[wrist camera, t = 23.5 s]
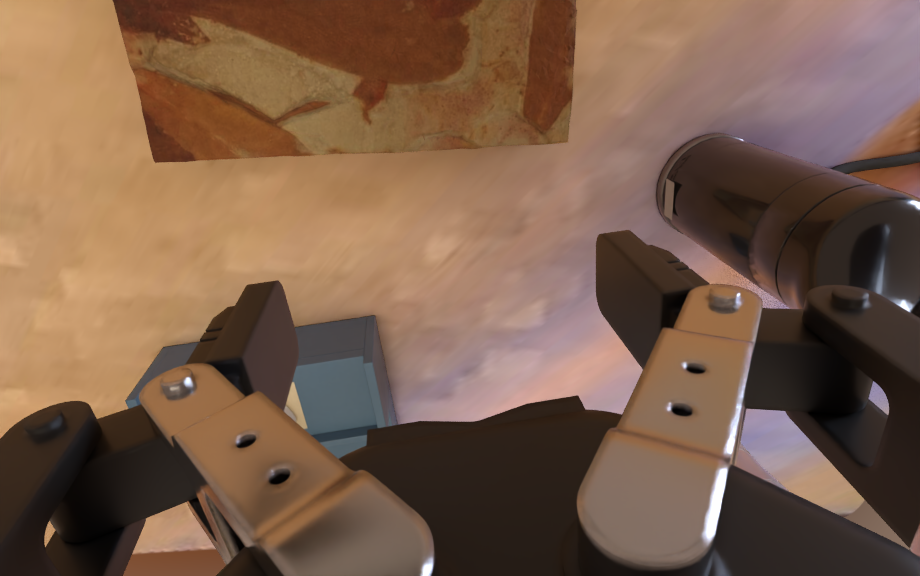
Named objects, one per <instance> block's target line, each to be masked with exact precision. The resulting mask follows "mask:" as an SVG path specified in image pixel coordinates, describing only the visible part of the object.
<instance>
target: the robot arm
mask: <svg viewBox="0 0 920 576" xmlns="http://www.w3.org/2000/svg"><path fill="white" fill-rule="evenodd" d="M918 162H920V152H915V153H910V154H905V155H899V156H892V157H885V158H877V159H869V160H862V161H856V162H851V163H846V164H843V165H839V166H837V167H834V168H832V169H829V168H826V167H823V166H820V165H816V164H813V163H810V162H807V161H804V160H801V159H798V158H795V157H792V156H788V155H785V154H782V153H779V152H776V151H773V150H770V149H767V148H764V147H760V146H758V145H755V144H752V143H748V142H745V141H743V140H742V139H740V138H737V137H734V136H731V135H727V134H720V133H716V134H708V135H704V136H701V137H698V138H696V139H693V140H692V141H690V142H688V143H687V144H685V145H684V146H682V147H681V148H680V149H679V150H678V151H677V152H676V153H675V154H674V155H673V156H672V157H671V158H670V160H669V161H668V163H667V164H666V166H665V167H664V169H663V171H662V174H661V176H660V179H659V183H658V188H657V203H658V207H659V210H660V213H661V215H662V217H663V218H664V220H665V221H666V222H667V223H668V224H669V225H670V226H671V227H673V228H674V229H676V230H677V231H679V232H680V233H682V234H685V235H686V236H688V237H689V238H690V239H692V240H693V241H694V242H696V243H697V244H699V245H700V246H701V247H703V248H704V249H706V250H707V251H709V252H710V253H711V254H713V255H714V256H716V257H717V258H719V259H720V260H721V261H723V262H724V263H726V264H727V265H728V266H730V267H731V268H733V269H734V270H736V271H737V272H738V273H740V274H741V275H743V276H744V277H746V278H747V279H748V280H750V281H751V282H753V283H754V284H755V285H757V286H758V287H760V288H761V289H763V290H764V291H765V292H767V293H769V294H770V295H772V296H773V297H774V298H776V299H777V300H779V301H780V302H781V303H783V304H784V305H786V306H787V307H789V308H790V309H770V308H762V306H763V302H762V299H761V298H760V297H759V296H758V295H757V294H755V293H754V292H752V291H750V290H747V289H745V288H742V287H738V286H733V285H725V284H709V283H708V282H707V281H705V280H704V279H703V278H702V277H700V276H699V275H698V274H697V273H695V272H694V271H693V270H692V269H689V267H688V266H687V265H685V264H684V263H683V262H680V260H679V259H678V258H677V257H675V256H674V255H673V254H672V253H670V252H669V251H667V250H664V249H661V248H658V247H656V246H653V245H646V244H645V243H644V242H643V241H642V240H640V239H639V238H638V237H637V236H636V235H635V234H633V233H632V232H631V231H630V230H624V231H617V232H610V233H604V234H599V235H598V237H597V241H596V296H597V302H598V306H599V309H600V311H601V313H602V315H603V316H604V317H605V319H606V320H607V321H608V323H609V324H610V325H611V327H612V328H613V329H614V331H615V332H616V334H617V335H618V336H619V338H620V339H621V340H622V342H623V343H624V344H625V346H626V347H627V348H628V350H629V351H630V352H631V354H632V355H633V357H634V358H635V359H636V361H637V362H638V363H639V365H640V366H641V367H642V369H643V371H642V374H641V376H640V378H639V380H638V382H637V384H636V387H635V389H634V391H633V393H632V395H631V397H630V399H629V402H628V404H627V406H626V408H625V410H624V412H623V414H622V415H621V414H617V413H611V412H606V411H598V410H585V408H584V406H583V404H582V402H581V400H580V398H579V396H572V397H566V398H560V399H553V400H547V401H541V402H535V403H529V404H525V405H522V406H520V407H517V408H514V409H511V410H508V411H505V412H503V413H500V414H497V415H494V416H491V417H488V418H486V419H483V420H480V421H475V422H441V421H418V422H412V423H406V424H400V425H394V426H388V427H381V428H375V429H369V430H367V444H366V446H364V447H361V448H359V449H357V450H354V451H352V452H350V453H348V454H346V455H344V456H342V457H341V458H339V459H338V458H337V457H335V456H334V455H333V454H332V453H331V452H330V451H329V450H327V449H326V448H325V447H324V446H323V445H322V444H321V443H319V442H318V441H317V440H316V439H315V438H314V437H313V436H311V435H310V434H309V433H308V432H307V431H306V430H304V429H303V428H302V427H301V426H300V425H299V424H298V423H296V422H295V421H294V420H293V419H292V418H291V417H290V416H288V415H287V414H286V413H285V412H284V409H285V406H286V402H287V398H288V395H289V391H290V388H291V384H292V380H293V377H294V373H295V370H296V366H297V363H298V358H299V346H298V339H297V335H296V331H295V328H294V324H293V321H292V317H291V314H290V310H289V307H288V303H287V300H286V296H285V292H284V289H283V287H282V285H281V283H280V282H279V281H271V282H264V283H257V284H250V285H247V286H246V287H245V289H244V291H243V293H242V295H241V296H240V298H239V300H238V302H237V304H236V305H235V306H232V307H227V308H226V309H225V310H224V311H222V312H221V313H220V314H218V315H217V316H216V317H215V318H213V320H212V321H211V323H210V325H209V326H208V328H207V329H206V333H204V334H203V336H202V338H201V339H200V342H199V343H198V344H197V346H196V347H195V349H194V351H193V352H192V354H191V356H190V357H189V359H188V361H187V362H186V364H185V365H183V366H179V367H176V368H173V369H171V370H168V371H166V372H164V373H162V374H160V375H159V376H157V377H155V378H154V379H152V380H151V381H150V382H149V383H147V384H146V385H145V387H144V388H143V389H142V390H141V392H140V395H139V400H140V402H141V404H140V405H138V406H135V407H132V408H130V409H127V410H123V411H120V412H117V413H114V414H111V415H108V416H105V417H102V418H99V419H96V417H95V415H94V413H93V411H92V409H91V407H90V406H89V404H87V403H85V402H82V401H70V402H64V403H59V404H56V405H52V406H49V407H47V408H44V409H42V410H39V411H37V412H35V413H33V414H31V415H29V416H27V417H26V418H24V419H22V420H21V421H19V422H18V423H17V424H15V425H14V426H13V427H12V428H10V429H9V430H8V431H7V432H6V433H5V434H4V435H3V437H2V438H1V439H0V576H123V574H124V571H125V569H126V566H127V564H128V562H129V560H130V557H131V555H132V553H133V550H134V548H135V546H136V543H137V541H138V539H139V536H140V534H141V531H142V529H143V527H144V524H145V521H146V518H147V517H150V516H152V515H155V514H157V513H160V512H162V511H165V510H167V509H170V508H172V507H175V506H177V505H180V504H182V503H185V502H187V504H188V506H189V508H190V510H191V511H192V513H193V514H194V516H195V518H196V519H197V521H198V522H199V524H200V525H201V527H202V528H203V530H204V531H205V533H206V534H207V536H208V537H209V539H210V540H211V542H212V543H213V545H214V546H215V548H216V549H217V551H218V552H219V554H220V555H221V557H222V558H223V560H224V562H225V563H226V566H225V567H224V568H223V569H222V570H221V571H220V572H219V573H218V574H217V575H216V576H920V198H918V197H915V196H913V195H910V194H908V193H905V192H902V191H899V190H896V189H892V188H889V187H886V186H883V185H880V184H877V183H873V182H870V181H867V180H864V179H861V178H858V177H855V176H851V175H848V174H849V173H853V172H858V171H865V170H872V169H880V168H888V167H896V166H902V165H908V164H913V163H918ZM873 381H874V382H876V383H877V384H878V385H879V386H880V387H881V388H882V389H883V391H884V392H885V394H886V396H887V399H888V403H889V415H887V414H885V413H884V412H883V411H882V410H881V409H880V408H878V407H877V406H876V405H875V404H874V403H873V402H871V401H870V400H869V399H868V397H869V394H870V390H871V387H872V383H873ZM746 409H763V410H780V411H786V413H787V415H788V416H789V418H790V419H791V420H792V421H793V422H794V423H795V424H796V425H797V426H798V427H799V429H800V430H801V431H802V432H803V433H804V434H805V435H806V436H807V437H808V438H809V439H810V440H811V442H812V443H813V444H814V445H815V446H816V447H817V448H818V449H819V450H820V451H821V452H822V454H823V455H824V456H825V457H826V458H827V459H828V460H829V461H830V462H831V463H832V464H833V466H834V467H835V468H836V469H837V470H838V471H839V472H840V473H841V474H842V475H843V476H844V477H845V479H846V480H847V481H848V482H849V483H850V484H851V485H852V486H853V487H854V488H855V489H856V491H857V492H858V493H859V494H860V495H861V496H862V497H863V498H864V499H865V500H866V501H867V503H868V504H869V505H870V506H871V507H872V508H873V509H874V510H875V511H876V512H877V513H878V514H879V516H881V518H882V519H883V520H884V521H885V522H886V523H887V524H888V525H889V526H890V528H891V529H892V530H893V531H894V532H895V533H896V534H897V535H898V536H899V537H900V538H901V539H902V541H903V542H904V543H905V544H906V545H907V546H908V547H909V548H910V549H909V550H908V549H906V548H904V547H902V546H901V545H899V544H897V543H895V542H893V541H891V540H889V539H887V538H885V537H883V536H880V535H878V534H877V533H875V532H872V531H870V530H868V529H866V528H864V527H862V526H860V525H858V524H856V523H853V522H851V521H849V520H847V519H845V518H843V517H841V516H839V515H837V514H835V513H833V512H831V511H829V510H826V509H824V508H822V507H820V506H818V505H816V504H814V503H812V502H810V501H808V500H806V499H803V498H801V497H799V496H797V495H795V494H793V493H791V492H789V491H787V490H785V489H782V488H780V487H778V486H776V485H774V484H772V483H770V482H768V481H766V480H764V479H762V478H759V477H757V476H755V475H753V474H751V473H749V472H747V471H745V470H743V469H741V468H739V467H736V462H737V457H738V452H739V446H740V441H741V436H742V430H743V425H744V420H745V414H746ZM49 520H50V522H51V524H52V525H53V527H54V528H55V530H56V531H55V532H54V534H53V536H52V537H51V539H50V541H49V542H48V544H47V546H46V547H45V545H44V535H45V530H46V527H47V524H48V522H49Z"/></svg>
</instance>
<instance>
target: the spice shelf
mask: <svg viewBox="0 0 920 576" xmlns="http://www.w3.org/2000/svg"><path fill="white" fill-rule="evenodd" d="M295 331H296V335H297V339H298V346H299V358H298V363H297V366H296V370H295V373H294V377H293V380H292V384H291V388H290V391H289V395H288V398H287V402H286V406H287V407H288V408H289V409H290V410H291V412H292V413H293V414H294V416H295V417H296V421H297V423H298V424H299V425H300V426H301V427H302V428H303V429H304V430H306V431H307V432H308V433H309V434H310V435H311V436H313V437H314V438H315V439H316V440H317V441H318V442H319V443H321V444H322V445H323V446H324V447H325V448H326V449H327V450H329V451H330V452H331V453H332V454H333V455H334V456H335V457H337V458H338V459H339V458H341V457H342V456H344V455H346V454H348V453H350V452H352V451H354V450H357V449H359V448H361V447H364V446H366V444H367V430H369V429H375V428H381V427H388V426H394V425H397V421H396V416H395V411H394V406H393V401H392V396H391V391H390V387H389V382H388V377H387V372H386V367H385V362H384V357H383V352H382V347H381V343H380V338H379V333H378V328H377V323H376V318H375V316H368V317H361V318H355V319H348V320H341V321H335V322H328V323H322V324H315V325H308V326H302V327H295ZM198 343H199V342H196V343H189V344H183V345H176V346H169V347H163V348H162V350H161V351H160V353H159V354H158V355H157V357H156V358H155V360H154V361H153V363H152V364H151V365H150V367H149V368H148V370H147V371H146V372H145V374H144V375H143V377H142V378H141V379H140V381H139V382H138V384H137V385H136V386H135V388H134V389H133V391H132V392H131V393H130V395H129V396H128V398H127V399H126V400H125V402H126V404H127V406H128V408H129V409H130V408H132V407H135V406H138V405H140V404H141V402H140V400H139V395H140V392H141V390H142V389H143V388H144V387H145V385H146V384H147V383H149V382H150V381H151V380H152V379H154V378H155V377H157V376H159V375H160V374H162V373H164V372H166V371H168V370H171V369H173V368H176V367H179V366H183V365H185V364H186V362H187V361H188V359H189V357H190V356H191V354H192V352H193V351H194V349H195V347H196V346H197V344H198Z"/></svg>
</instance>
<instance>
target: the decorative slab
mask: <svg viewBox="0 0 920 576" xmlns="http://www.w3.org/2000/svg"><path fill="white" fill-rule="evenodd" d="M113 2H114V5H115V9H116V13H117V17H118V21H119V25H120V29H121V33H122V37H123V40H124V44H125V47H126V51H127V55H128V59H129V63H130V66H131V68H132V70H133V72H134V74H135V77H136V82H137V86H138V91H139V95H140V99H141V105H142V112H143V116H144V120H145V124H146V129H147V134H148V138H149V143H150V147H151V151H152V155H153V159H154V161H155V162H188V161H197V160H215V159H240V158H256V157H273V156H311V155H325V154H335V153H395V152H416V151H432V150H447V149H460V148H467V149H477V148H482V147H492V146H506V145H540V144H555V143H566V142H568V134H569V122H570V114H571V104H572V90H573V67H574V49H575V32H576V13H577V10H576V0H113Z"/></svg>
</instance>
